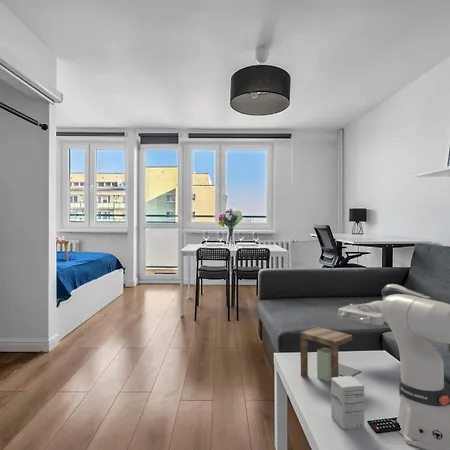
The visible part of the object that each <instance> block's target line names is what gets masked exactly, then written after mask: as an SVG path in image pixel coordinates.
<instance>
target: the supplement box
mask: <svg viewBox="0 0 450 450" xmlns="http://www.w3.org/2000/svg"><path fill="white" fill-rule="evenodd" d="M330 389H331V391H330V395H331V396H330V399H331V400H330V401H331V407H330V409H331V410H330V412H331V416H330V417H331V418H332V419H333V420H334V421H335V422H336V423H337V424H338V425H339V427H340V428H341V429H342V430H351V429H357V428H365V385H364V384H362V383H361V382H360V381H358V380H357V379H356V378H355V377H353V376H338V377H333V378H331V380H330Z"/></svg>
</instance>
